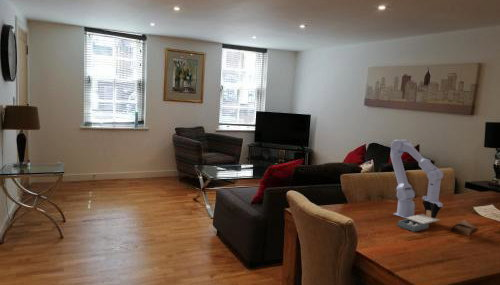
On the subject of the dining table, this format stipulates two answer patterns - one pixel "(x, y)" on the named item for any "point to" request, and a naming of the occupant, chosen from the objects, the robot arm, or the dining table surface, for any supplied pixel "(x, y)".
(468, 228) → the sunglasses case
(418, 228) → the tub
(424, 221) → the lid
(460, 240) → the dining table surface
